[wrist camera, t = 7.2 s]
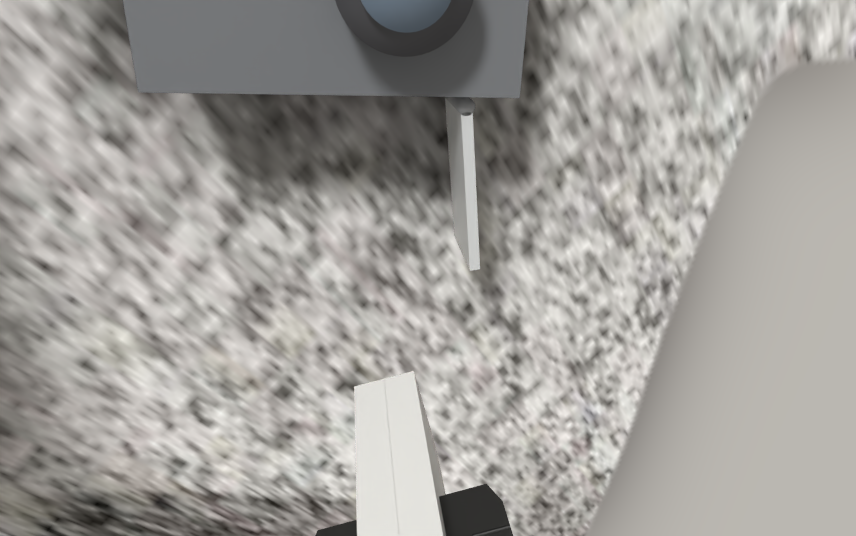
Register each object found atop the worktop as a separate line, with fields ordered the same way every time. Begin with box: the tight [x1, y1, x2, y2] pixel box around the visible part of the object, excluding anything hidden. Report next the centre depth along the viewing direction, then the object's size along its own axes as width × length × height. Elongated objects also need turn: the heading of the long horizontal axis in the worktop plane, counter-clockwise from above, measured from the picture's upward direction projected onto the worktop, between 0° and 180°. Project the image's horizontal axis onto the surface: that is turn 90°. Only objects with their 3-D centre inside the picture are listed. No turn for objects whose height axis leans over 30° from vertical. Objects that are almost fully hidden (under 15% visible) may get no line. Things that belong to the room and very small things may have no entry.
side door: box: [445, 97, 480, 271], centre depth 34 cm, size 10×1×6 cm, turn 5°
